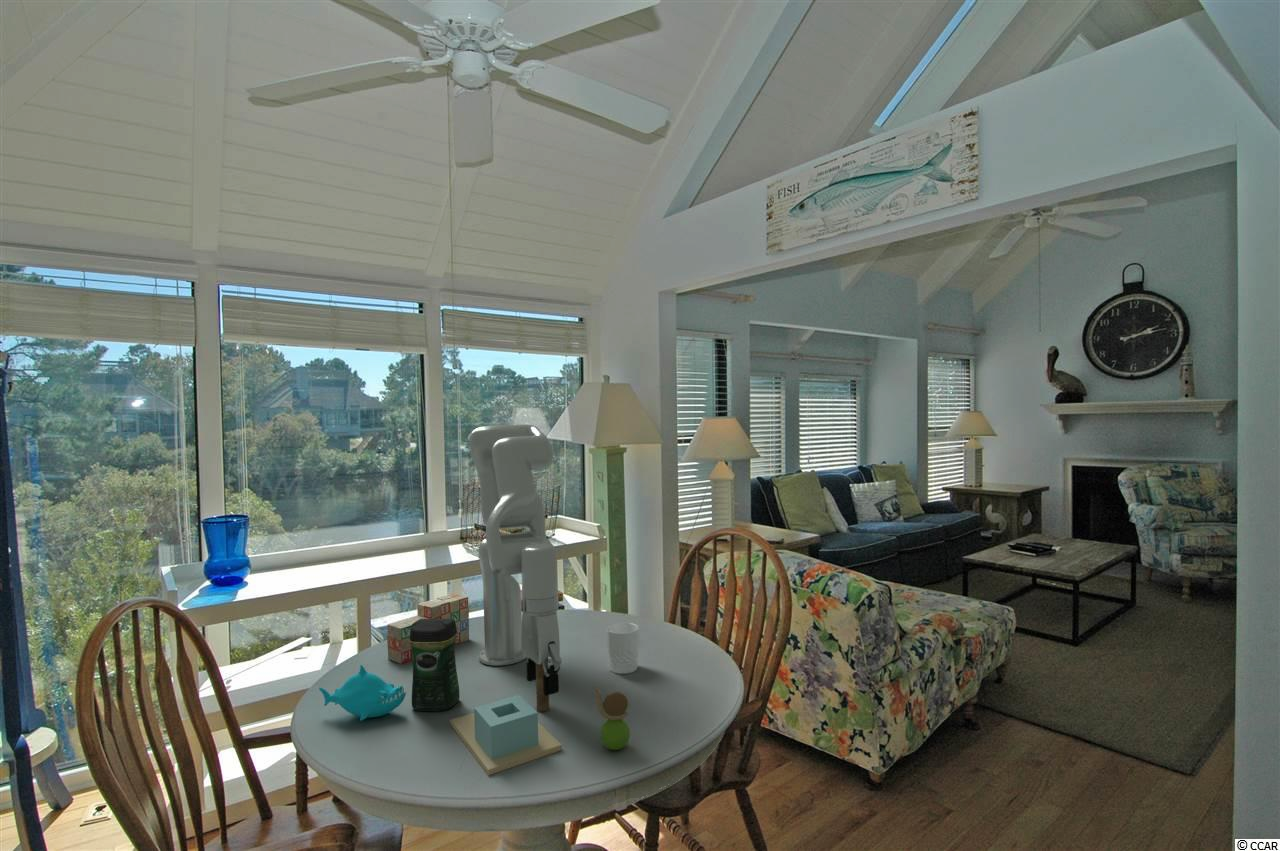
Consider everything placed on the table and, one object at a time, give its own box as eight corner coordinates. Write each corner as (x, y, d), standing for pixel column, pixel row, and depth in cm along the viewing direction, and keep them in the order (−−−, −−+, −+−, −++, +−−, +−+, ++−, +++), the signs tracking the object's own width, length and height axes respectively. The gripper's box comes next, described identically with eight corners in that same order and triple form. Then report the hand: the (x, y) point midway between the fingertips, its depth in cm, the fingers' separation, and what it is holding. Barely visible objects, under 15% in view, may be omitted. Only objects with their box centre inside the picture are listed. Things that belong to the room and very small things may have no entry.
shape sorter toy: (450, 724, 126) (449, 690, 125) (516, 705, 133) (515, 673, 133) (488, 775, 107) (487, 735, 107) (561, 749, 115) (560, 712, 115)
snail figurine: (595, 741, 118) (593, 678, 117) (629, 739, 118) (627, 676, 118) (595, 757, 112) (593, 691, 112) (631, 754, 113) (629, 689, 112)
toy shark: (396, 726, 126) (395, 673, 125) (307, 728, 125) (305, 675, 125) (414, 704, 135) (412, 655, 135) (331, 706, 135) (329, 657, 135)
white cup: (641, 662, 155) (640, 622, 155) (638, 675, 147) (637, 633, 147) (610, 662, 156) (609, 622, 156) (605, 675, 148) (604, 633, 148)
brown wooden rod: (534, 708, 132) (532, 642, 131) (546, 705, 133) (544, 640, 133) (539, 713, 129) (538, 646, 129) (551, 709, 131) (549, 643, 131)
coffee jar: (464, 696, 138) (461, 613, 138) (450, 713, 130) (447, 625, 130) (422, 696, 139) (420, 613, 139) (405, 712, 131) (403, 625, 131)
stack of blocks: (401, 664, 158) (400, 616, 158) (387, 659, 162) (386, 612, 161) (469, 639, 175) (468, 595, 175) (455, 635, 179) (454, 592, 179)
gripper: (508, 597, 136) (510, 677, 136) (541, 617, 122) (543, 706, 122) (539, 591, 140) (541, 668, 141) (575, 610, 126) (577, 696, 126)
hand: (542, 685), depth 131 cm, fingers open, 7 cm apart
